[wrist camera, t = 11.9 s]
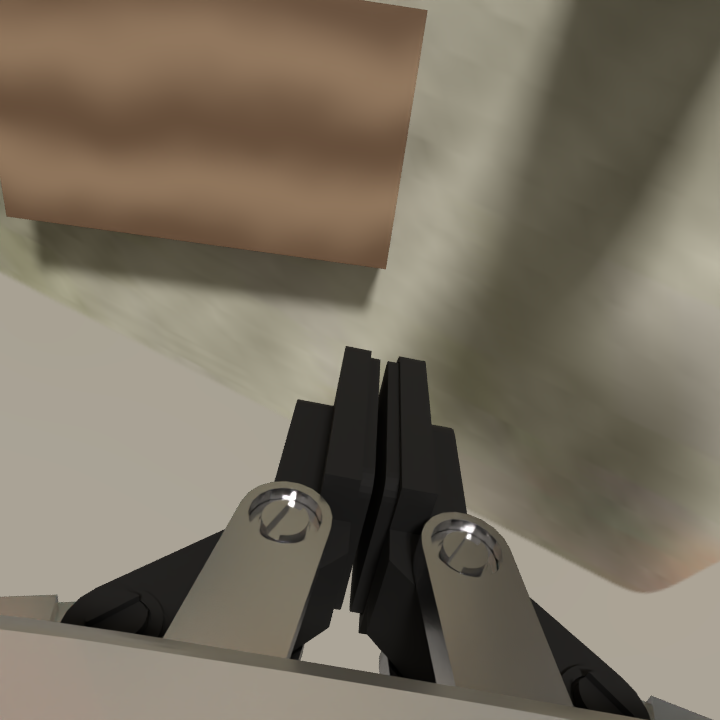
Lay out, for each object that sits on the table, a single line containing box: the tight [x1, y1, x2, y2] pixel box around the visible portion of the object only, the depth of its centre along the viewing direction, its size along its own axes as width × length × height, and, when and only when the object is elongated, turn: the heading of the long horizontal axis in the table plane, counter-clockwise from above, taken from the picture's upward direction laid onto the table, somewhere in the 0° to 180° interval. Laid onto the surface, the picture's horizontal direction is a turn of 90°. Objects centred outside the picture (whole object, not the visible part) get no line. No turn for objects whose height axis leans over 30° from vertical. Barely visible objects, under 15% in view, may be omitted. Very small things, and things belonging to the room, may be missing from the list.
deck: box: [0, 0, 428, 269], centre depth 31 cm, size 13×22×4 cm, turn 82°
